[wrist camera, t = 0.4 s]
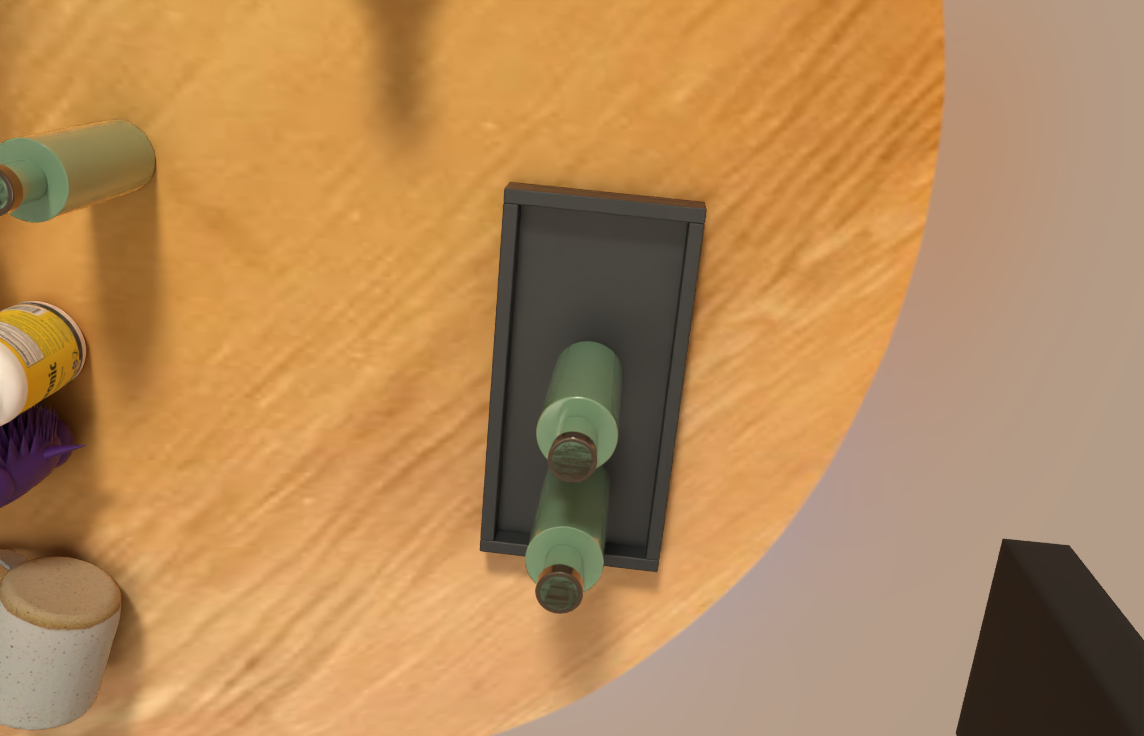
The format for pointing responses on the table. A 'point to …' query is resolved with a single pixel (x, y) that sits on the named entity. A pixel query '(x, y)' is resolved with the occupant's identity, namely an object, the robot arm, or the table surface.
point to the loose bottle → (72, 169)
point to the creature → (31, 451)
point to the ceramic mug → (53, 638)
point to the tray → (599, 314)
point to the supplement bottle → (36, 355)
